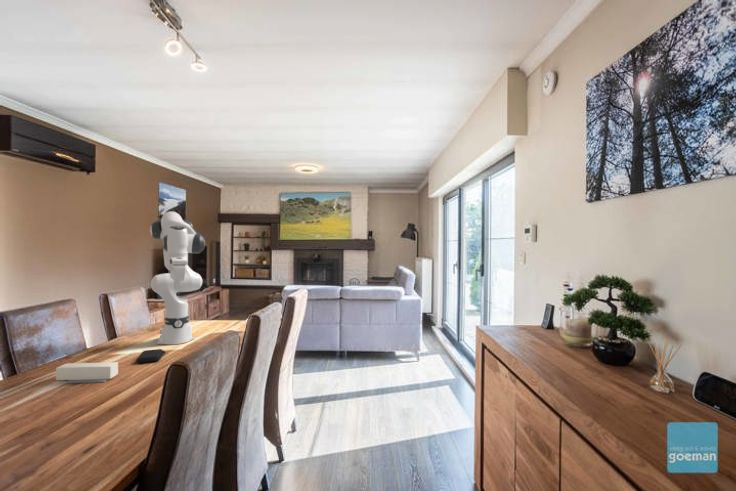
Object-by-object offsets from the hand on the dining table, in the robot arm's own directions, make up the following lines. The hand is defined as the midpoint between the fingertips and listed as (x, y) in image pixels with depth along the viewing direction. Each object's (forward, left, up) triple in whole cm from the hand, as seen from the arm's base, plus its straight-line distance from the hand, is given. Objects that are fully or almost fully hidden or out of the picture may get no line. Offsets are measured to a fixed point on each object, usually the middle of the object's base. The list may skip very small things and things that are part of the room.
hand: (176, 289), depth 160 cm
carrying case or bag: (-10, -9, -35) cm, 37 cm away
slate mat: (+5, -30, -34) cm, 46 cm away
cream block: (+9, -23, -31) cm, 40 cm away
